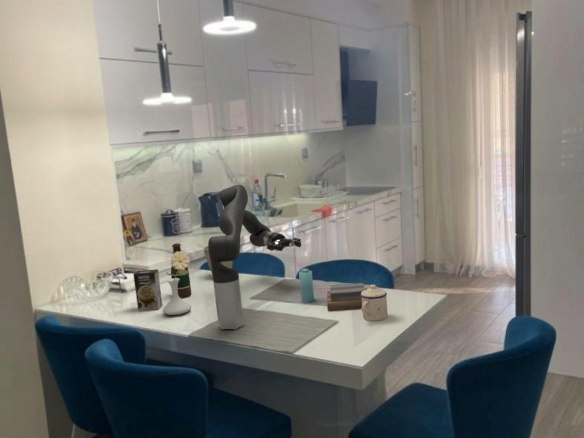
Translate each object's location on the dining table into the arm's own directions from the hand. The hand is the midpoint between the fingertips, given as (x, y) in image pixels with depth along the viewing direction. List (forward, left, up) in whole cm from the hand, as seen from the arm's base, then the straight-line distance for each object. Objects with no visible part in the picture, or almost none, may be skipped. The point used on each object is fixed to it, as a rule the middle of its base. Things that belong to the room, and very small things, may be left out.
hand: (291, 246), depth 230 cm
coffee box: (-4, +61, -21) cm, 65 cm away
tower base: (-17, -22, -21) cm, 34 cm away
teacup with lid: (-37, -30, -21) cm, 52 cm away
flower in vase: (-13, +46, -21) cm, 53 cm away
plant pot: (+40, +39, -21) cm, 60 cm away
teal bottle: (-10, -6, -21) cm, 24 cm away
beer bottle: (+11, +51, -21) cm, 57 cm away
